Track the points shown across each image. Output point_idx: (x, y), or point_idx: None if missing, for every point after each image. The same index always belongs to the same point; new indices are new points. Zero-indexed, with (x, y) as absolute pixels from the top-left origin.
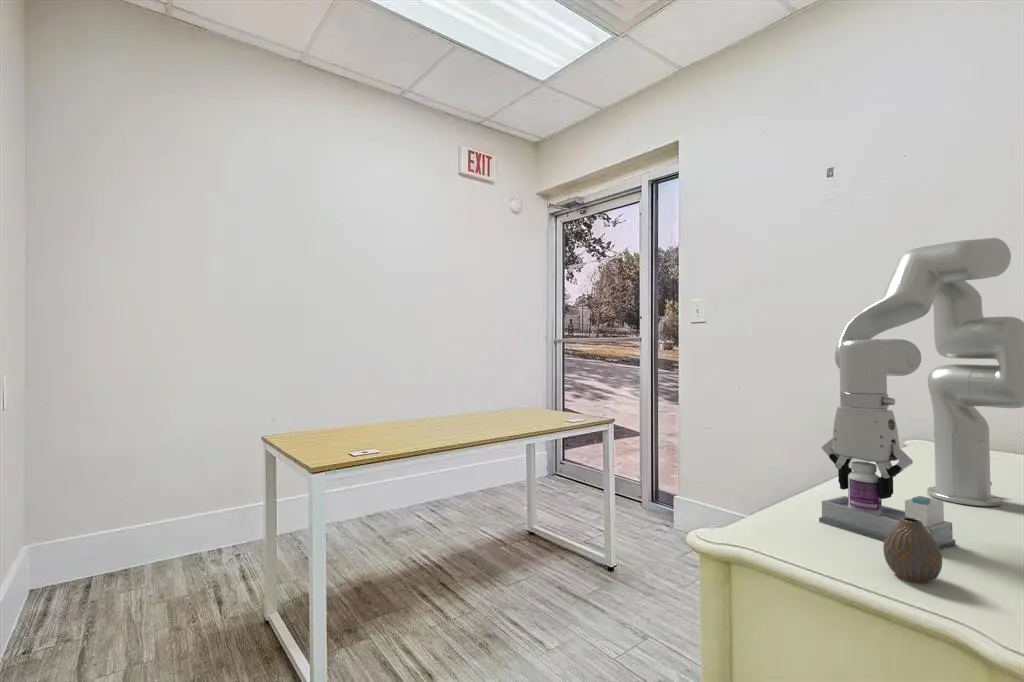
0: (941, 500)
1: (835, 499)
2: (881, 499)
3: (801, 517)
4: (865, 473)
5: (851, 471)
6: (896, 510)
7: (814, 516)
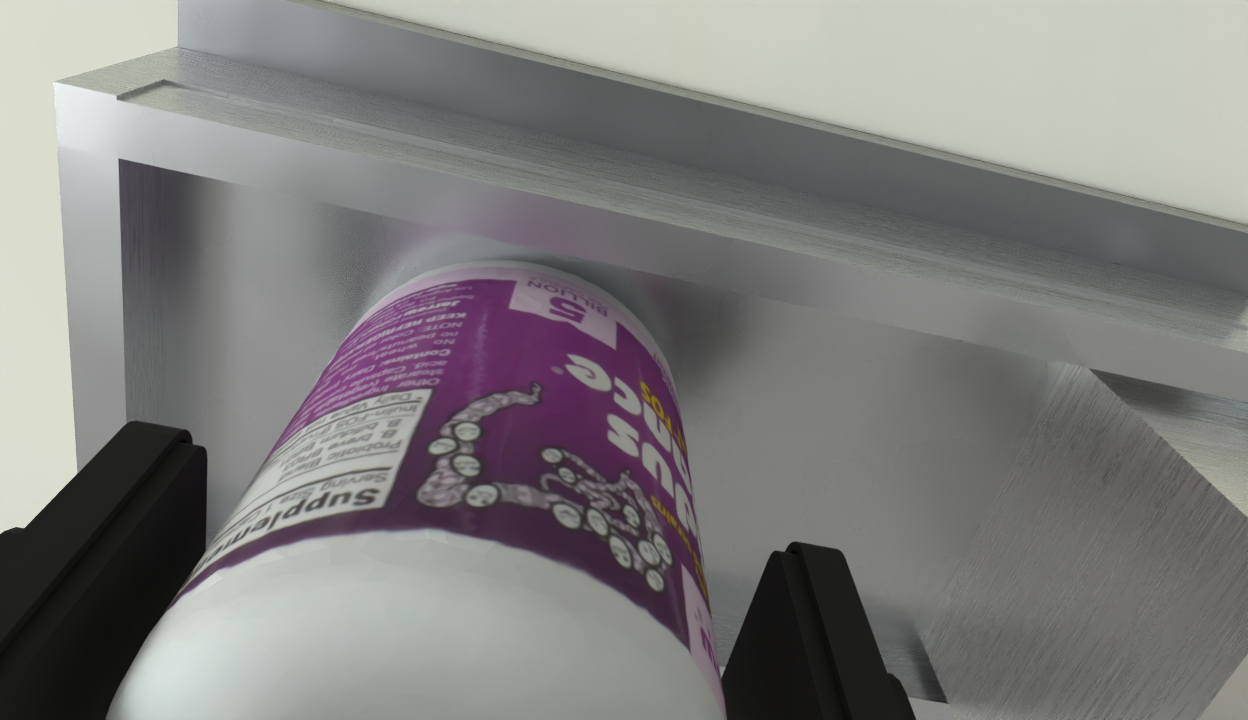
0: None
1: (119, 405)
2: (695, 507)
3: (31, 492)
4: None
5: (13, 712)
6: (831, 307)
7: (67, 369)
